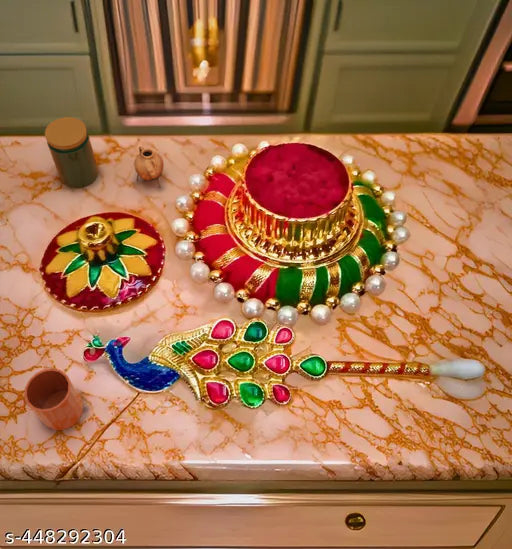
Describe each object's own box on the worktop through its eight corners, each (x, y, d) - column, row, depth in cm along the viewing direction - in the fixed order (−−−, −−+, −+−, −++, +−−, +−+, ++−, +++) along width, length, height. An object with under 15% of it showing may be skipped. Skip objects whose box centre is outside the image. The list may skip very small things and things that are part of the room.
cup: (49, 437, 91) (33, 419, 84) (35, 402, 94) (18, 381, 87) (89, 417, 93) (77, 397, 86) (74, 383, 96) (61, 361, 89)
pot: (142, 168, 123) (132, 188, 119) (139, 138, 117) (128, 157, 113) (169, 173, 123) (159, 193, 119) (167, 143, 117) (157, 163, 113)
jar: (67, 193, 118) (52, 151, 108) (54, 168, 122) (38, 125, 112) (104, 179, 121) (92, 137, 110) (90, 154, 124) (77, 111, 114)
